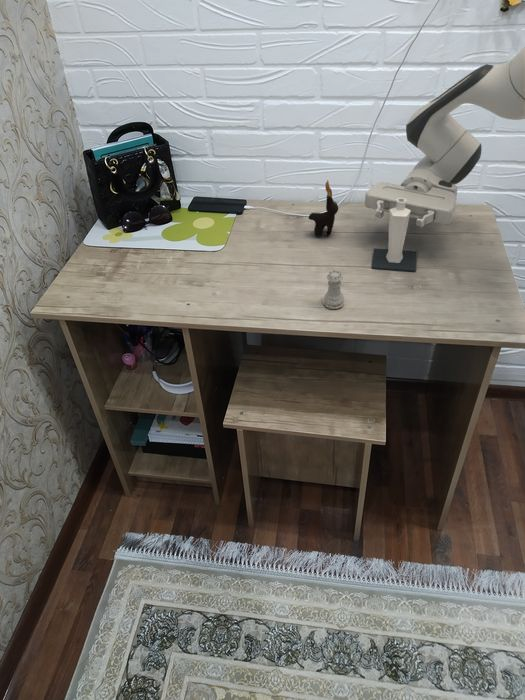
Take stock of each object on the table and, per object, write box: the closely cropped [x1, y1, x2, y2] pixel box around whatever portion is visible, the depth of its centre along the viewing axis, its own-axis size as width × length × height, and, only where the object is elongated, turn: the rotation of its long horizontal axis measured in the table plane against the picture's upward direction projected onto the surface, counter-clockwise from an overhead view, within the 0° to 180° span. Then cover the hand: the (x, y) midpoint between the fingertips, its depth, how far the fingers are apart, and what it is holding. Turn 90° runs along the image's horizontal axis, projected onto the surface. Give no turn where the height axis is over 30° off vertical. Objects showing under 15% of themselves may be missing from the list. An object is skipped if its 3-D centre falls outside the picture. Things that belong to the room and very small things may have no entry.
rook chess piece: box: [323, 269, 345, 310], centre depth 120 cm, size 4×4×8 cm
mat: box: [370, 247, 418, 273], centre depth 133 cm, size 10×8×1 cm
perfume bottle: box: [386, 198, 411, 263], centre depth 128 cm, size 5×4×15 cm
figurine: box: [308, 179, 339, 237], centre depth 139 cm, size 11×7×15 cm
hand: (398, 219), depth 125 cm, fingers open, 8 cm apart
